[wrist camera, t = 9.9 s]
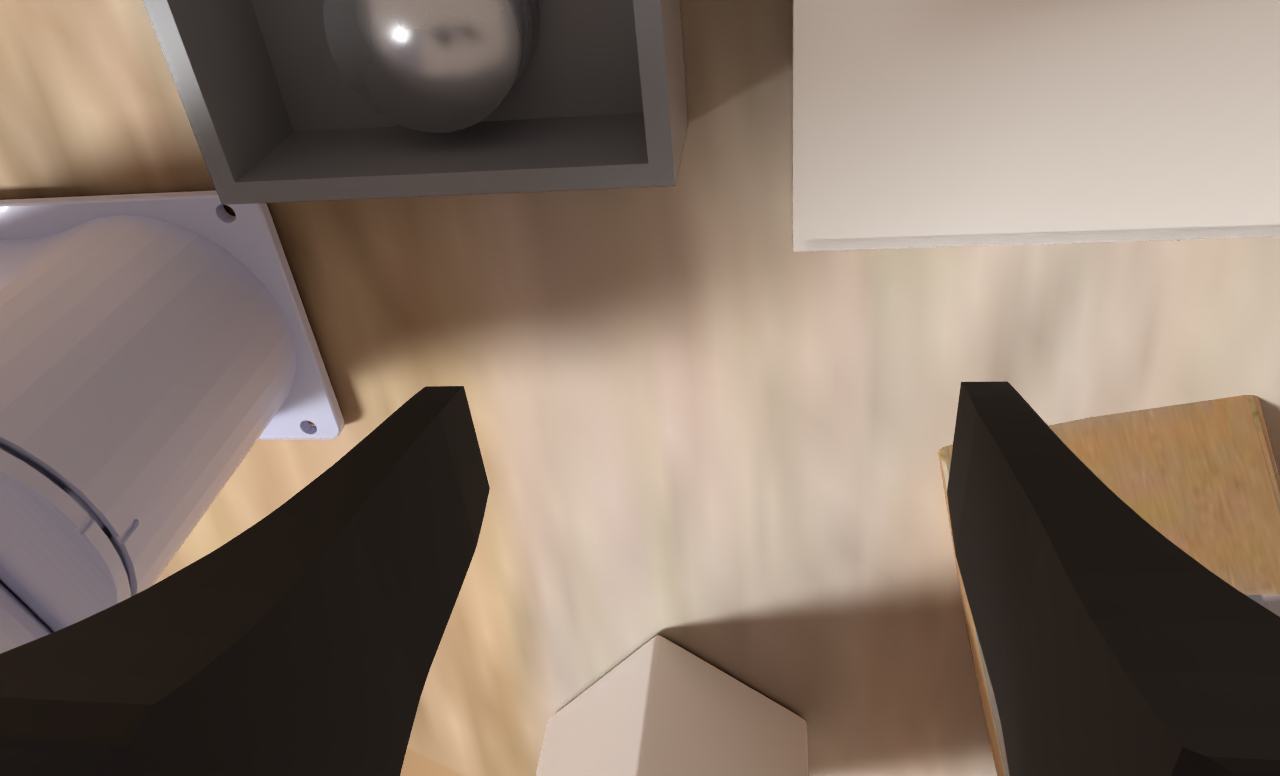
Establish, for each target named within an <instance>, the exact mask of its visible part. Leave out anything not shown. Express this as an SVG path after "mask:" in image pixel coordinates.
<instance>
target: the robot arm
mask: <svg viewBox="0 0 1280 776" xmlns="http://www.w3.org/2000/svg"><path fill="white" fill-rule="evenodd" d="M228 206H229V207H231V208H232V209H233V211H234V212H235V214H236V216H231V215H230V214H229V213H227V212H226V210H225V209H224V207H223V205H222V204H221V202H220V199H219V196H218V194H217V191H216V190H214V191H191V192H168V193H146V194H123V195H101V196H78V197H55V198H33V199H10V200H0V776H400V773H401V768H402V765H403V761H404V756H405V753H406V749H407V745H408V741H409V738H410V734H411V730H412V726H413V722H414V719H415V715H416V711H417V707H418V704H419V700H420V696H421V693H422V690H423V687H424V684H425V681H426V678H427V675H428V672H429V669H430V667H431V664H432V662H433V659H434V657H435V654H436V651H437V649H438V646H439V644H440V641H441V638H442V636H443V633H444V631H445V628H446V625H447V623H448V620H449V618H450V615H451V613H452V610H453V607H454V605H455V602H456V600H457V597H458V594H459V592H460V589H461V587H462V584H463V581H464V579H465V576H466V573H467V571H468V568H469V565H470V563H471V560H472V557H473V554H474V552H475V549H476V546H477V542H478V538H479V534H480V530H481V526H482V522H483V517H484V512H485V508H486V503H487V498H488V494H489V489H490V488H489V484H488V480H487V476H486V472H485V468H484V464H483V460H482V456H481V453H480V449H479V445H478V441H477V437H476V433H475V429H474V425H473V421H472V417H471V413H470V409H469V405H468V401H467V397H466V393H465V390H464V386H440V387H424V388H423V389H422V390H420V391H419V392H418V393H417V394H415V395H414V396H413V397H412V398H410V399H409V400H408V401H407V402H406V403H405V404H403V405H402V406H401V407H400V408H399V409H398V410H396V411H395V412H394V413H393V414H392V415H391V416H390V417H388V418H387V419H386V420H385V421H384V422H383V423H382V424H380V425H379V426H378V427H377V428H376V429H375V430H374V431H373V432H371V433H370V434H369V435H368V436H367V437H366V438H364V439H363V440H362V441H361V442H360V443H359V444H357V445H356V446H355V447H354V448H353V449H352V450H350V451H349V452H348V453H347V454H346V455H345V456H343V457H342V458H341V459H340V460H339V461H338V462H336V463H335V464H334V465H333V466H332V467H330V468H329V469H328V470H326V471H325V472H324V473H323V474H321V475H320V476H319V477H318V478H316V479H315V480H314V481H312V482H311V483H310V484H309V485H307V486H306V487H305V488H303V489H302V490H301V491H300V492H298V493H297V494H296V495H295V496H293V497H292V498H291V499H289V500H288V501H287V502H286V503H284V504H283V505H282V506H280V507H279V508H278V509H276V510H275V511H273V512H272V513H271V514H269V515H268V516H266V517H265V518H264V519H262V520H261V521H259V522H258V523H256V524H255V525H253V526H252V527H250V528H249V529H247V530H246V531H244V532H243V533H241V534H240V535H238V536H237V537H235V538H234V539H232V540H230V541H229V542H227V543H226V544H224V545H223V546H221V547H220V548H218V549H216V550H215V551H213V552H211V553H210V554H208V555H206V556H205V557H203V558H201V559H199V560H197V561H196V562H194V563H192V564H190V565H189V566H187V567H185V568H183V569H181V570H180V571H178V572H176V573H174V574H173V575H171V576H169V577H167V578H166V579H164V580H162V581H160V582H158V583H157V584H155V585H153V584H154V583H155V582H156V580H157V579H158V577H159V576H160V575H161V573H162V572H163V570H164V569H165V568H166V566H167V565H168V563H169V562H170V561H171V559H172V558H173V556H174V555H175V554H176V552H177V551H178V550H179V548H180V547H181V545H182V544H183V543H184V541H185V540H186V538H187V537H188V536H189V534H190V533H191V531H192V530H193V529H194V527H195V526H196V524H197V523H198V522H199V520H200V519H201V517H202V516H203V515H204V513H205V512H206V511H207V509H208V508H209V506H210V505H211V504H212V502H213V501H214V499H215V498H216V497H217V495H218V494H219V492H220V491H221V490H222V488H223V487H224V485H225V484H226V483H227V481H228V480H229V478H230V477H231V476H232V474H233V473H234V471H235V470H236V469H237V467H238V466H239V465H240V463H241V462H242V460H243V459H244V458H245V456H246V455H247V453H248V452H249V451H250V449H251V448H252V446H253V445H254V444H255V442H256V441H257V439H334V438H336V437H338V436H339V435H340V433H341V431H342V430H343V428H344V419H343V416H342V413H341V411H340V408H339V405H338V402H337V399H336V397H335V394H334V391H333V388H332V385H331V383H330V380H329V377H328V374H327V371H326V369H325V366H324V363H323V360H322V357H321V355H320V352H319V349H318V346H317V343H316V340H315V338H314V335H313V332H312V329H311V326H310V324H309V321H308V318H307V315H306V312H305V310H304V307H303V304H302V301H301V298H300V296H299V293H298V290H297V287H296V284H295V282H294V279H293V276H292V273H291V270H290V268H289V265H288V262H287V259H286V256H285V253H284V251H283V248H282V245H281V242H280V239H279V237H278V234H277V231H276V228H275V225H274V223H273V220H272V217H271V214H270V211H269V209H268V206H267V204H266V203H253V204H229V205H228ZM307 421H310V422H312V423H314V424H315V426H313V425H311V424H309V423H308V422H307ZM947 498H948V505H949V513H950V520H951V528H952V535H953V541H954V548H955V555H956V559H957V562H958V566H959V570H960V574H961V577H962V581H963V585H964V588H965V592H966V596H967V599H968V603H969V606H970V610H971V614H972V617H973V621H974V624H975V628H976V631H977V635H978V638H979V642H980V646H981V649H982V653H983V656H984V660H985V663H986V667H987V671H988V674H989V678H990V681H991V685H992V688H993V692H994V696H995V700H996V705H997V709H998V713H999V718H1000V722H1001V727H1002V733H1003V739H1004V745H1005V751H1006V757H1007V763H1008V769H1009V775H1010V776H1280V617H1279V616H1278V615H1276V614H1274V613H1273V612H1271V611H1270V610H1268V609H1267V608H1265V607H1263V606H1262V605H1260V604H1259V603H1257V602H1256V601H1254V600H1253V599H1251V598H1249V597H1248V596H1246V595H1245V594H1243V593H1242V592H1240V591H1238V590H1237V589H1236V588H1234V587H1233V586H1231V585H1230V584H1228V583H1227V582H1225V581H1224V580H1222V579H1221V578H1220V577H1218V576H1217V575H1215V574H1214V573H1212V572H1211V571H1210V570H1208V569H1207V568H1206V567H1204V566H1203V565H1202V564H1200V563H1199V562H1198V561H1196V560H1195V559H1194V558H1192V557H1191V556H1190V555H1188V554H1187V553H1186V552H1184V551H1183V550H1182V549H1180V548H1179V547H1178V546H1176V545H1175V544H1174V543H1172V542H1171V541H1170V540H1168V539H1167V538H1166V537H1165V536H1163V535H1162V534H1161V533H1160V532H1158V531H1157V530H1156V529H1155V528H1153V527H1152V526H1151V525H1150V524H1149V523H1147V522H1146V521H1145V520H1144V519H1143V518H1142V517H1141V516H1139V515H1138V514H1137V513H1136V512H1135V511H1134V510H1133V509H1131V508H1130V507H1129V506H1128V505H1127V504H1126V503H1125V502H1123V501H1122V500H1121V499H1120V498H1119V497H1118V496H1117V495H1116V494H1115V493H1114V492H1113V491H1111V490H1110V489H1109V488H1108V487H1107V486H1106V485H1105V484H1104V483H1103V482H1102V481H1101V480H1100V479H1099V478H1098V477H1097V476H1096V475H1095V474H1094V473H1093V472H1092V471H1091V470H1090V469H1089V468H1088V467H1087V466H1086V465H1085V464H1084V463H1083V462H1082V461H1081V460H1080V459H1079V458H1078V457H1077V456H1076V455H1075V454H1074V453H1073V452H1072V451H1071V450H1070V449H1069V448H1068V447H1067V446H1066V445H1065V444H1064V443H1063V441H1062V440H1061V439H1060V438H1059V437H1058V436H1057V435H1056V434H1055V433H1054V432H1053V431H1052V430H1051V429H1050V427H1049V426H1048V425H1047V424H1046V423H1045V422H1044V421H1043V420H1042V419H1041V418H1040V416H1039V415H1038V414H1037V413H1036V412H1035V411H1034V410H1033V409H1032V408H1031V406H1030V405H1029V404H1028V403H1027V402H1026V401H1025V400H1024V399H1023V398H1022V396H1021V395H1020V394H1019V393H1018V392H1017V391H1016V390H1015V389H1014V388H1013V387H1012V386H1011V385H1010V384H1009V383H1008V382H961V388H960V396H959V403H958V411H957V419H956V426H955V434H954V442H953V449H952V457H951V464H950V472H949V480H948V487H947Z"/></svg>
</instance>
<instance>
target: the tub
mask: <svg viewBox="0 0 1280 776" xmlns="http://www.w3.org/2000/svg"><path fill="white" fill-rule="evenodd" d="M143 3H144V5H145V8H146V11H147V13H148V16H149V18H150V21H151V23H152V26H153V29H154V31H155V34H156V36H157V39H158V42H159V44H160V47H161V49H162V52H163V54H164V57H165V60H166V62H167V65H168V67H169V70H170V73H171V75H172V78H173V80H174V83H175V85H176V88H177V91H178V93H179V96H180V98H181V101H182V104H183V106H184V109H185V111H186V114H187V116H188V119H189V122H190V124H191V127H192V129H193V132H194V134H195V137H196V140H197V142H198V145H199V147H200V150H201V153H202V155H203V158H204V160H205V163H206V165H207V168H208V171H209V173H210V176H211V178H212V181H213V184H214V186H215V189H216V191H217V194H218V196H219V199H220V202H221V204H222V205H229V204H253V203H277V202H301V201H325V200H349V199H373V198H397V197H422V196H446V195H470V194H494V193H518V192H542V191H566V190H590V189H614V188H638V187H662V186H675V184H676V179H677V174H678V170H679V165H680V160H681V156H682V151H683V146H684V142H685V137H686V132H687V128H688V114H687V99H686V84H685V69H684V54H683V39H682V24H681V9H680V0H538V7H539V33H538V39H537V43H536V47H535V50H534V52H533V55H532V58H531V59H530V61H529V63H528V65H527V67H526V68H525V70H524V71H523V73H522V74H521V75H520V77H519V78H518V80H517V81H516V82H515V84H514V85H513V86H512V88H511V89H510V91H509V92H508V93H507V95H506V96H505V98H504V99H503V100H502V102H501V103H500V104H499V106H498V107H497V108H496V109H495V110H494V111H493V112H492V113H491V114H490V115H488V116H487V117H486V118H484V119H483V120H482V121H480V122H478V123H476V124H474V125H472V126H470V127H467V128H464V129H462V130H458V131H453V132H444V133H432V132H423V131H418V130H413V129H410V128H407V127H404V126H401V125H399V124H397V123H395V122H393V121H391V120H389V119H387V118H385V117H384V116H382V115H381V114H379V113H377V112H376V111H375V110H374V109H372V108H371V107H370V106H368V105H367V104H366V103H365V102H364V101H363V100H362V99H361V98H360V97H359V96H358V95H357V94H356V93H355V92H354V90H353V89H352V88H351V87H350V86H349V84H348V83H347V81H346V80H345V78H344V77H343V75H342V74H341V72H340V70H339V69H338V67H337V65H336V63H335V61H334V58H333V56H332V54H331V51H330V48H329V45H328V41H327V38H326V33H325V27H324V17H323V5H324V0H143Z"/></svg>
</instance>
